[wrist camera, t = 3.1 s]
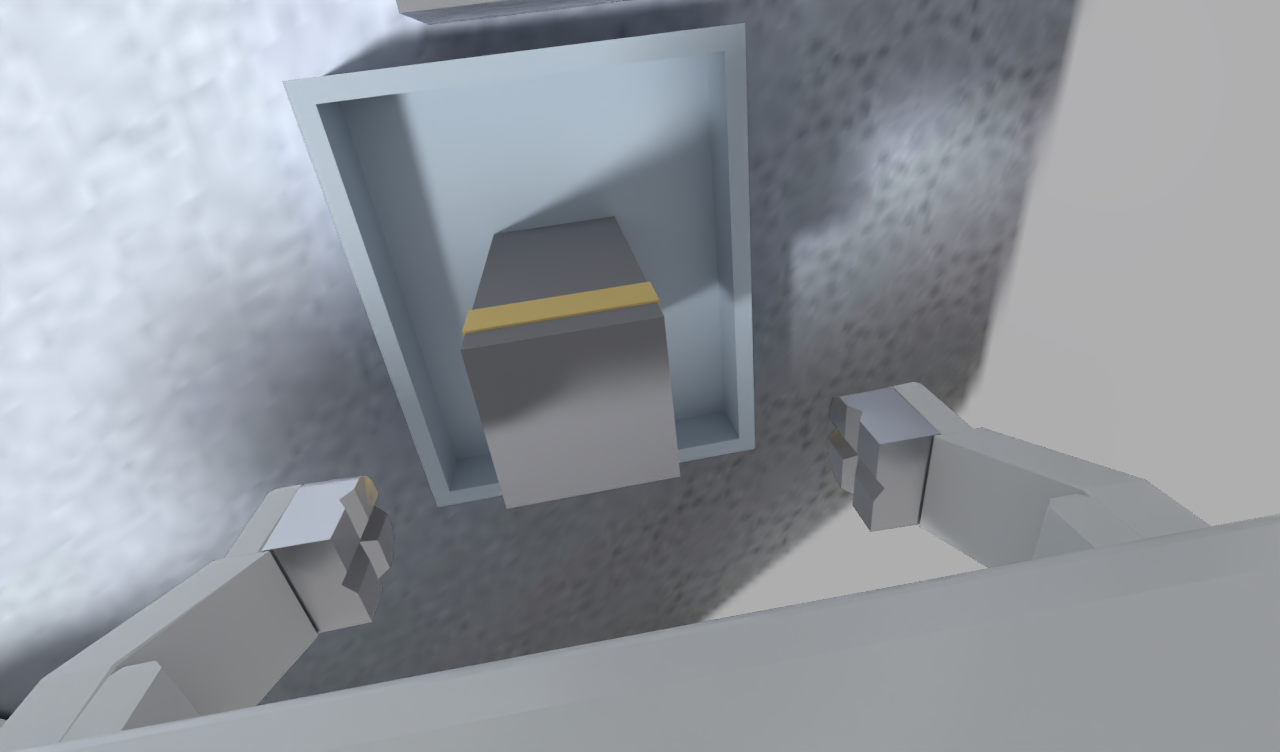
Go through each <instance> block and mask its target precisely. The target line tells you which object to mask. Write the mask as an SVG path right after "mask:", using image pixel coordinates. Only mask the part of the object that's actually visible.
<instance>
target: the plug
mask: <svg viewBox="0 0 1280 752" xmlns="http://www.w3.org/2000/svg"><path fill="white" fill-rule="evenodd" d="M462 333H463V337H464V339H463V343H462V346H461V350H460V351H461V354H462V357H463V361H464V364H465V368H466V371H467V375H468V378H469V381H470V385H471V388H472V392H473V395H474V399H475V402H476V406H477V409H478V412H479V416H480V419H481V423H482V426H483V430H484V433H485V437H486V440H487V443H488V447H489V450H490V454H491V457H492V461H493V464H494V467H495V471H496V474H497V478H498V481H499V485H500V488H501V492H502V495H503V498H504V502H505V505H506V509H509V508H515V507H520V506H525V505H531V504H536V503H541V502H547V501H552V500H557V499H563V498H568V497H573V496H579V495H584V494H589V493H595V492H600V491H605V490H611V489H616V488H622V487H627V486H632V485H638V484H643V483H648V482H654V481H659V480H664V479H670V478H675V477H680V467H679V457H678V447H677V438H676V428H675V418H674V408H673V398H672V388H671V378H670V368H669V358H668V349H667V339H666V329H665V319H664V315H663V313H662V311H661V309H660V301H659V298H658V296H657V294H656V292H655V290H654V288H653V286H652V284H651V282H647V281H646V279H645V277H644V275H643V273H642V271H641V269H640V267H639V265H638V263H637V261H636V259H635V257H634V255H633V253H632V251H631V249H630V247H629V245H628V243H627V241H626V239H625V237H624V235H623V233H622V230H621V228H620V226H619V224H618V222H617V220H616V218H615V216H612V217H605V218H599V219H592V220H585V221H579V222H572V223H565V224H559V225H552V226H545V227H539V228H532V229H526V230H519V231H512V232H506V233H499V234H494V235H493V239H492V242H491V246H490V249H489V253H488V256H487V260H486V263H485V267H484V270H483V273H482V277H481V280H480V284H479V287H478V291H477V294H476V298H475V301H474V305H473V308H472V310H469V311H468V314H467V317H466V320H465V324H464V327H463V330H462Z"/></svg>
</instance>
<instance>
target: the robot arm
mask: <svg viewBox="0 0 1280 752" xmlns="http://www.w3.org/2000/svg"><path fill="white" fill-rule="evenodd" d="M829 418H830V420H831V421H832V422H833V424H834V425H835V426H836V429H835V430H834V431H833V432H832V434H831V435H830V436H829V438H828V457H829V462H830V467H831V470H832V473H833V475H834V477H835V479H836V481H837V483H838V484H839V486H840V487H841V489H843V490H846V491H848V492H850V493H852V494H853V507H854V508H855V510H856V511H857V512H858V514H859V516H860V517H861V518H862V520H863V521H864V523H865V524H866V526H867V527H868V529H869V530H870V531H871V532H872V531H879V530H885V529H892V528H897V527H905V526H911V525H918V524H920V527H921V528H923V529H925V530H926V531H928V532H930V533H931V534H933V535H934V536H936V537H938V538H939V539H941V540H943V541H944V542H946V543H948V544H949V545H951V546H953V547H954V548H956V549H958V550H959V551H961V552H963V553H964V554H966V555H968V556H969V557H971V558H972V559H974V560H976V561H977V562H979V563H981V564H982V565H984V566H986V567H988V569H982V570H977V571H972V572H966V573H961V574H956V575H951V576H946V577H941V578H936V579H931V580H925V581H919V582H914V583H909V584H903V585H898V586H893V587H888V588H882V589H877V590H871V591H866V592H861V593H855V594H850V595H844V596H839V597H834V598H828V599H823V600H818V601H813V602H807V603H801V604H796V605H791V606H785V607H780V608H774V609H770V610H764V611H758V612H753V613H748V614H743V615H737V616H732V617H726V618H721V619H715V620H710V621H705V622H699V623H694V624H689V625H683V626H678V627H673V628H668V629H662V630H657V631H652V632H646V633H641V634H636V635H631V636H625V637H620V638H615V639H609V640H604V641H599V642H594V643H588V644H583V645H578V646H572V647H567V648H562V649H556V650H551V651H546V652H541V653H535V654H530V655H525V656H519V657H514V658H509V659H504V660H498V661H493V662H488V663H482V664H477V665H472V666H466V667H461V668H456V669H450V670H445V671H440V672H434V673H429V674H424V675H418V676H413V677H407V678H402V679H397V680H391V681H386V682H381V683H375V684H370V685H365V686H359V687H354V688H349V689H343V690H338V691H333V692H327V693H322V694H317V695H311V696H306V697H301V698H295V699H290V700H285V701H279V702H274V703H269V704H263V705H258V706H257V704H258V703H259V702H260V701H261V700H262V699H263V698H264V697H265V695H266V694H267V693H268V692H269V691H270V690H271V689H272V688H273V687H274V685H275V684H276V683H277V682H278V681H279V680H280V679H281V678H282V676H283V675H284V674H285V673H286V672H287V671H288V670H289V669H290V667H291V666H292V665H293V664H294V663H295V662H296V661H297V660H298V659H299V657H300V656H301V655H302V654H303V653H304V652H305V651H306V650H307V648H308V647H309V646H310V645H311V644H312V643H313V642H314V641H315V640H316V638H317V637H318V633H323V632H327V631H332V630H337V629H342V628H346V627H351V626H356V625H361V624H366V623H370V622H372V621H373V618H374V615H375V612H376V609H377V606H378V603H379V600H380V597H381V594H382V591H383V588H382V586H381V583H380V581H379V578H380V577H381V576H382V575H383V574H384V573H385V572H386V571H387V570H388V569H389V568H390V566H391V563H392V559H393V556H394V533H393V529H392V524H391V522H390V519H389V517H388V514H387V513H385V512H384V511H382V510H380V509H379V508H377V507H376V506H374V505H375V502H376V500H377V497H378V494H379V493H378V491H377V489H376V487H375V485H374V483H373V481H372V479H371V478H369V477H367V476H365V475H362V476H355V477H348V478H342V479H335V480H328V481H321V482H314V483H307V484H305V485H304V484H300V485H294V486H289V487H283V488H277V489H275V490H272V491H270V492H268V494H267V495H266V497H265V498H264V500H263V501H262V503H261V504H260V506H259V507H258V509H257V510H256V512H255V513H254V515H253V516H252V518H251V519H250V521H249V522H248V524H247V525H246V527H245V528H244V529H243V531H242V532H241V534H240V535H239V537H238V538H237V540H236V541H235V543H234V544H233V546H232V547H231V549H230V550H229V552H228V553H227V555H226V556H225V558H223V559H218V560H213V561H212V562H211V563H209V564H208V565H206V566H205V567H203V568H202V569H200V570H199V571H197V572H196V573H195V574H193V575H192V576H190V577H189V578H187V579H186V580H184V581H183V582H181V583H180V584H179V585H177V586H176V587H174V588H173V589H171V590H170V591H168V592H167V593H166V594H164V595H163V596H161V597H160V598H158V599H157V600H155V601H154V602H152V603H151V604H150V605H148V606H147V607H145V608H144V609H142V610H141V611H139V612H138V613H136V614H135V615H134V616H132V617H131V618H129V619H128V620H126V621H125V622H123V623H122V624H120V625H119V626H118V627H116V628H115V629H113V630H112V631H110V632H109V633H107V634H106V635H104V636H103V637H102V638H100V639H99V640H97V641H96V642H94V643H93V644H91V645H90V646H89V647H87V648H86V649H84V650H83V651H81V652H80V653H78V654H77V655H75V656H74V657H73V658H71V659H70V660H68V661H67V662H65V663H64V664H62V665H61V666H59V667H58V668H57V669H55V670H54V671H52V672H51V673H49V674H48V675H46V676H45V677H43V678H42V679H41V680H40V681H39V682H38V684H37V685H36V686H35V687H34V688H33V690H32V691H31V692H30V693H29V694H28V696H27V697H26V698H25V699H24V700H23V702H22V703H21V704H20V705H19V706H18V708H17V709H16V710H15V711H14V712H13V714H12V715H11V716H10V717H9V718H8V720H4V719H0V752H1280V514H1275V515H1270V516H1264V517H1259V518H1254V519H1249V520H1243V521H1239V522H1233V523H1227V524H1223V525H1217V526H1210V525H1209V524H1207V523H1206V522H1205V521H1203V520H1202V519H1200V518H1199V517H1197V516H1196V515H1195V514H1193V513H1192V512H1191V511H1189V510H1188V509H1186V508H1185V507H1183V506H1182V505H1181V504H1179V503H1178V502H1176V501H1175V500H1173V499H1172V498H1171V497H1169V496H1168V495H1167V494H1165V493H1164V492H1162V491H1161V490H1160V489H1158V488H1157V487H1155V486H1154V485H1153V484H1151V483H1150V482H1148V481H1147V480H1145V479H1142V478H1139V477H1136V476H1133V475H1129V474H1126V473H1123V472H1120V471H1117V470H1113V469H1111V468H1107V467H1104V466H1101V465H1098V464H1095V463H1092V462H1089V461H1085V460H1082V459H1079V458H1076V457H1073V456H1070V455H1066V454H1063V453H1060V452H1057V451H1054V450H1051V449H1048V448H1045V447H1041V446H1038V445H1035V444H1032V443H1029V442H1026V441H1023V440H1019V439H1016V438H1013V437H1010V436H1007V435H1004V434H1001V433H997V432H994V431H991V430H988V429H985V428H977V429H973V428H972V427H970V426H969V425H968V424H967V423H966V422H965V421H964V420H962V419H961V418H960V417H959V416H958V415H957V414H956V413H954V412H953V411H952V410H951V409H950V408H949V407H947V406H946V405H945V404H944V403H943V402H942V401H941V400H939V399H938V398H937V397H936V396H935V395H934V394H933V393H931V392H930V391H929V390H928V389H927V388H926V387H925V386H923V385H922V384H920V383H917V382H911V383H906V384H901V385H896V386H891V387H887V388H883V389H878V390H872V391H867V392H861V393H856V394H851V395H845V396H840V397H834V398H833V399H832V402H831V404H830V413H829Z"/></svg>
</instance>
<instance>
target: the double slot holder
mask: <svg viewBox="0 0 1280 752" xmlns="http://www.w3.org/2000/svg"><path fill="white" fill-rule="evenodd" d="M621 1H629V0H396V2H397V6H398V10H399V13H400V14H403V15H405V16H408V17H411V18H413V19H416V20H418V21H421V22H423V23H426V24H428V25H432V24H440V23H449V22H457V21H465V20H473V19H482V18H490V17H498V16H506V15H514V14H523V13H531V12H539V11H547V10H555V9H564V8H572V7H580V6H588V5H597V4H605V3H613V2H621Z"/></svg>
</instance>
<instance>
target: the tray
mask: <svg viewBox="0 0 1280 752" xmlns="http://www.w3.org/2000/svg"><path fill="white" fill-rule="evenodd" d="M282 82H283V85H284V88H285V90H286V93H287V96H288V99H289V101H290V104H291V107H292V110H293V112H294V115H295V118H296V121H297V123H298V126H299V129H300V132H301V134H302V137H303V140H304V143H305V145H306V148H307V151H308V154H309V156H310V159H311V162H312V164H313V167H314V170H315V173H316V175H317V178H318V181H319V184H320V186H321V189H322V192H323V195H324V197H325V200H326V203H327V206H328V208H329V211H330V214H331V217H332V219H333V222H334V225H335V228H336V230H337V233H338V236H339V239H340V241H341V244H342V247H343V250H344V252H345V255H346V258H347V261H348V263H349V266H350V269H351V272H352V274H353V277H354V280H355V283H356V285H357V288H358V291H359V294H360V296H361V299H362V302H363V305H364V307H365V310H366V313H367V315H368V318H369V321H370V324H371V326H372V329H373V332H374V335H375V337H376V340H377V343H378V346H379V348H380V351H381V354H382V357H383V359H384V362H385V365H386V368H387V370H388V373H389V376H390V379H391V381H392V384H393V387H394V390H395V392H396V395H397V398H398V401H399V403H400V406H401V409H402V412H403V414H404V417H405V420H406V423H407V425H408V428H409V431H410V434H411V436H412V439H413V442H414V445H415V447H416V450H417V453H418V456H419V458H420V461H421V464H422V466H423V469H424V472H425V475H426V477H427V480H428V483H429V486H430V488H431V491H432V494H433V497H434V499H435V502H436V505H437V508H438V507H443V506H448V505H454V504H459V503H465V502H470V501H475V500H481V499H486V498H492V497H497V496H502V492H501V488H500V485H499V481H498V478H497V474H496V471H495V467H494V464H493V461H492V457H491V454H490V450H489V447H488V443H487V440H486V437H485V433H484V430H483V426H482V423H481V419H480V416H479V412H478V409H477V406H476V402H475V399H474V395H473V392H472V388H471V385H470V381H469V378H468V375H467V371H466V368H465V364H464V361H463V357H462V354H461V351H460V350H461V346H462V343H463V339H464V337H463V333H462V330H463V327H464V324H465V320H466V317H467V314H468V311H469V310H472V308H473V305H474V301H475V298H476V294H477V291H478V287H479V284H480V280H481V277H482V273H483V270H484V267H485V263H486V260H487V256H488V253H489V249H490V246H491V242H492V239H493V235H494V234H499V233H506V232H512V231H519V230H526V229H532V228H539V227H545V226H552V225H559V224H565V223H572V222H579V221H585V220H592V219H599V218H605V217H612V216H615V218H616V220H617V222H618V224H619V226H620V228H621V230H622V233H623V235H624V237H625V239H626V241H627V243H628V245H629V247H630V249H631V251H632V253H633V255H634V257H635V259H636V261H637V263H638V265H639V267H640V269H641V271H642V273H643V275H644V277H645V279H646V281H647V282H651V284H652V286H653V288H654V290H655V292H656V294H657V296H658V298H659V301H660V309H661V311H662V313H663V315H664V319H665V329H666V339H667V349H668V358H669V368H670V378H671V388H672V398H673V408H674V418H675V428H676V438H677V447H678V457H679V463H681V462H686V461H692V460H697V459H702V458H708V457H713V456H719V455H724V454H730V453H735V452H740V451H746V450H751V449H755V421H754V377H753V334H752V291H751V248H750V204H749V161H748V118H747V74H746V31H745V23H738V24H730V25H722V26H715V27H707V28H699V29H691V30H683V31H675V32H667V33H659V34H651V35H644V36H636V37H628V38H620V39H612V40H604V41H596V42H588V43H580V44H573V45H565V46H557V47H549V48H541V49H533V50H525V51H517V52H509V53H502V54H494V55H486V56H478V57H470V58H462V59H454V60H446V61H438V62H430V63H423V64H415V65H407V66H399V67H391V68H383V69H375V70H367V71H359V72H352V73H344V74H336V75H328V76H320V77H312V78H304V79H296V80H288V81H282Z"/></svg>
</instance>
